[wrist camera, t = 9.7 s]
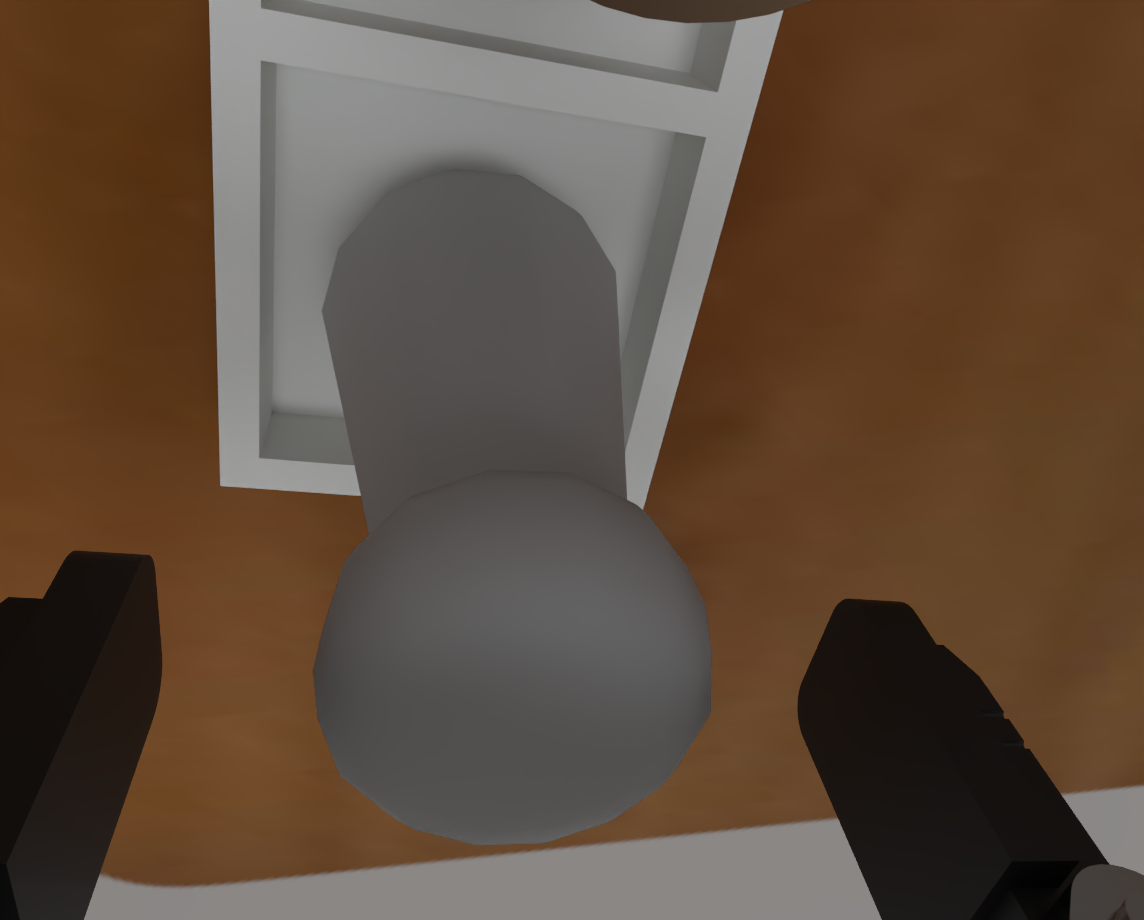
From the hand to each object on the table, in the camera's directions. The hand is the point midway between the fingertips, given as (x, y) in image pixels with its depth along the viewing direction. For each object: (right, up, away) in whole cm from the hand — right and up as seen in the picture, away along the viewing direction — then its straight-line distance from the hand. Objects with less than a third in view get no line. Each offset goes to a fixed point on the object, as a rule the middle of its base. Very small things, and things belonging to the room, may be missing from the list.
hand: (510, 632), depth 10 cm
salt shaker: (-2, +6, +9) cm, 11 cm away
